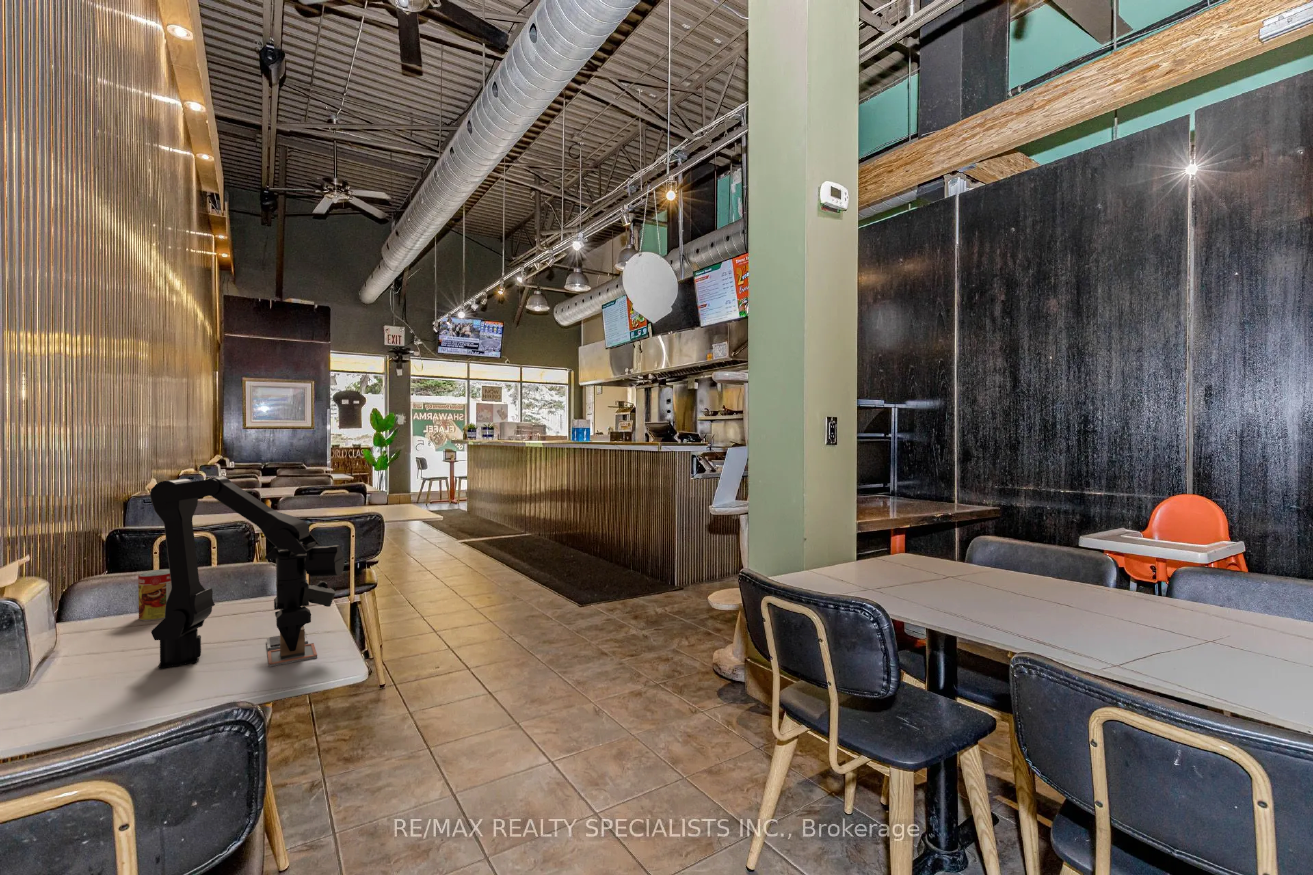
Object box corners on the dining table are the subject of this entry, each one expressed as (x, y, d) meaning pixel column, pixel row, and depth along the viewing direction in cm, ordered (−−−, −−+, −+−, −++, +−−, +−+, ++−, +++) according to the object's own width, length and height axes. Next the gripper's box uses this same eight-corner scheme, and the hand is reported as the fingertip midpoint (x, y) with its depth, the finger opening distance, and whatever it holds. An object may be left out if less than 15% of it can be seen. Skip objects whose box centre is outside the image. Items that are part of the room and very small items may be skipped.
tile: (268, 666, 127) (268, 663, 127) (267, 653, 135) (267, 651, 135) (317, 657, 132) (317, 654, 132) (313, 645, 140) (313, 642, 140)
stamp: (280, 659, 130) (280, 631, 130) (280, 652, 134) (279, 626, 134) (304, 654, 133) (304, 627, 133) (303, 648, 137) (303, 622, 137)
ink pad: (267, 651, 136) (267, 646, 136) (266, 641, 143) (266, 636, 143) (308, 644, 140) (308, 639, 140) (305, 634, 147) (305, 630, 147)
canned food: (144, 614, 165) (144, 570, 165) (180, 610, 168) (179, 567, 168) (134, 622, 158) (133, 576, 158) (171, 618, 161) (170, 573, 161)
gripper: (337, 580, 130) (337, 652, 130) (327, 565, 146) (328, 629, 146) (276, 588, 124) (277, 663, 124) (273, 571, 139) (274, 638, 140)
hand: (292, 647), depth 134 cm, fingers open, 5 cm apart
